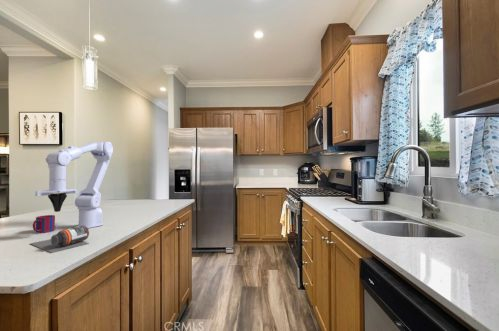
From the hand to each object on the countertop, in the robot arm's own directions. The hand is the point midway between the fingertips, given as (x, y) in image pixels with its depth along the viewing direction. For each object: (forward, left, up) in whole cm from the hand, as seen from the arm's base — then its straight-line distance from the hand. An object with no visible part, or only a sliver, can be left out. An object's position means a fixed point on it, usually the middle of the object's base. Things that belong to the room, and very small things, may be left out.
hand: (57, 211), depth 104 cm
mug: (+1, -12, -11) cm, 16 cm away
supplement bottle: (-3, +17, -7) cm, 19 cm away
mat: (+4, +14, -10) cm, 18 cm away
